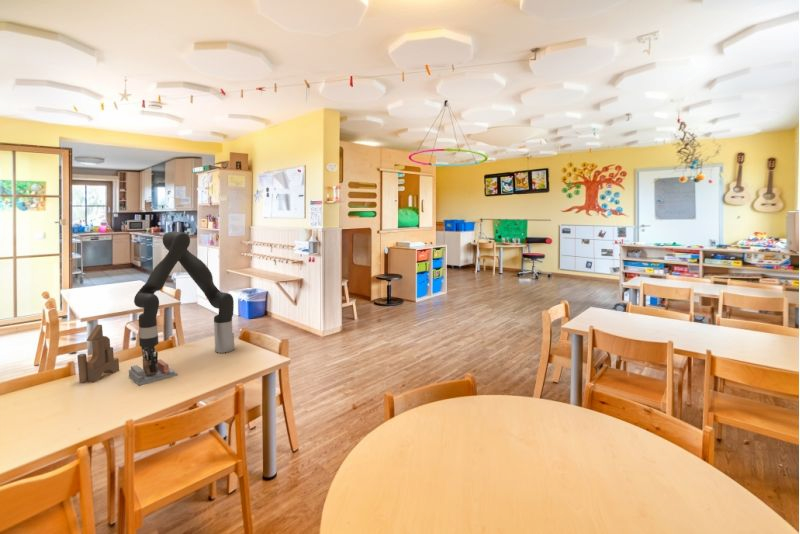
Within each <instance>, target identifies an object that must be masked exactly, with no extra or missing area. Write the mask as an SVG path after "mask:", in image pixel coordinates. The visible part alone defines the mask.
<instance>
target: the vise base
mask: <svg viewBox="0 0 800 534" xmlns="http://www.w3.org/2000/svg"><path fill="white" fill-rule="evenodd" d="M169 370H170V373H167V374H163V373H161V372H160V371H159V370H158V372H157V373H153V374H149V375H146V374H145V371H144V370H143V367H140V365H138V364H134V365H131V366H130V369H128V377H129V378H130V379H131V380H132V381H133V382H134V383H136V385H138V386H143V385H146V384H151V383H153V382H157V381H161V380H164V379H167V378H173V377H175V376H178V372H176V371H175V370H174V369H172V368H171V367H169Z"/></svg>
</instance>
